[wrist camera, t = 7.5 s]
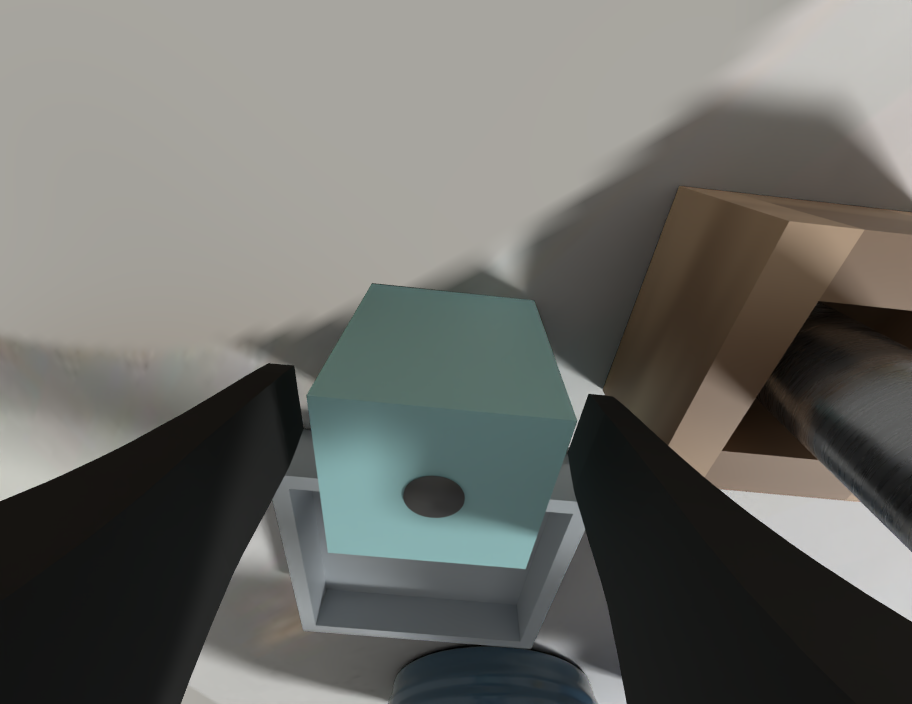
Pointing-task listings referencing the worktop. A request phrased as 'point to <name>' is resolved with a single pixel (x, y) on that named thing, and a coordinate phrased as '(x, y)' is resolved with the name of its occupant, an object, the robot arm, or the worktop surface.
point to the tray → (420, 575)
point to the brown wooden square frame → (752, 325)
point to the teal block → (439, 428)
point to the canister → (491, 678)
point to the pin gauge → (851, 410)
